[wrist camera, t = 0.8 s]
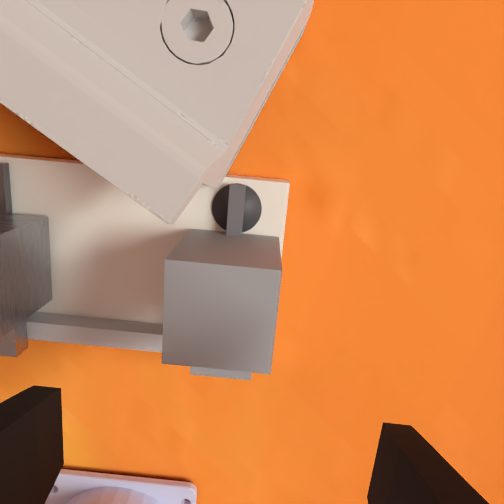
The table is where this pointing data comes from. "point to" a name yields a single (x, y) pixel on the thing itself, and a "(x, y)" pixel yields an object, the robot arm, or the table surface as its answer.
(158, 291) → the board
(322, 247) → the table surface
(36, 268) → the grey slider block
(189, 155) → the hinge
